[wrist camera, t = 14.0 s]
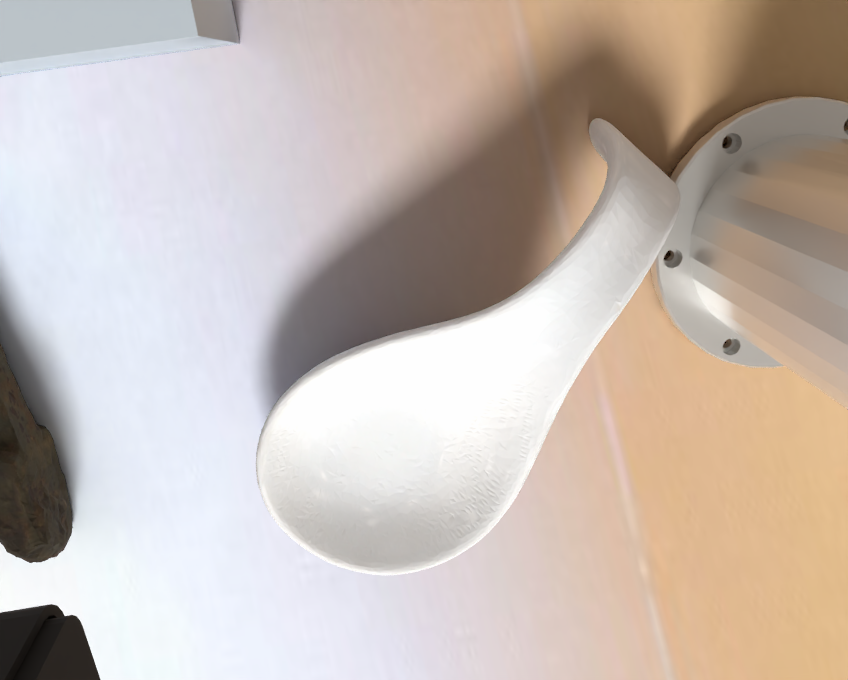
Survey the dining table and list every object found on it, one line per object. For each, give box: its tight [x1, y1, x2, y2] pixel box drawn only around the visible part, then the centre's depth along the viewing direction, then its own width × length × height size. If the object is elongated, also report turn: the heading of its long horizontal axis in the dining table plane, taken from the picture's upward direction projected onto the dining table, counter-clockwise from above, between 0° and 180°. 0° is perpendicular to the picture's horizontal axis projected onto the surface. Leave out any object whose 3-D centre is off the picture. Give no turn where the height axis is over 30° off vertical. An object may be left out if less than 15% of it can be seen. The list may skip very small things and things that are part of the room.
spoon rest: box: [256, 118, 681, 575], centre depth 35 cm, size 24×12×7 cm, turn 141°
